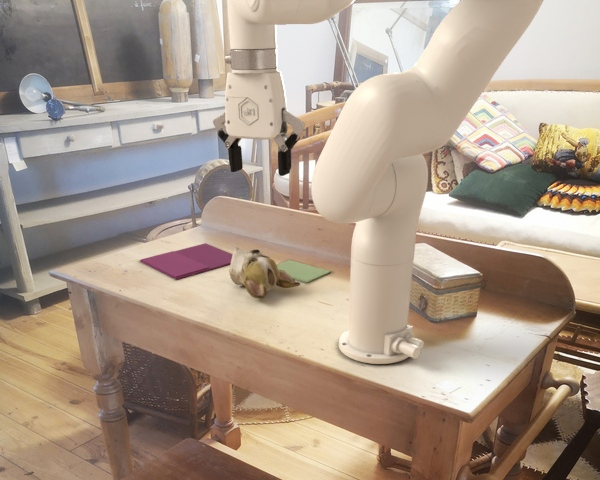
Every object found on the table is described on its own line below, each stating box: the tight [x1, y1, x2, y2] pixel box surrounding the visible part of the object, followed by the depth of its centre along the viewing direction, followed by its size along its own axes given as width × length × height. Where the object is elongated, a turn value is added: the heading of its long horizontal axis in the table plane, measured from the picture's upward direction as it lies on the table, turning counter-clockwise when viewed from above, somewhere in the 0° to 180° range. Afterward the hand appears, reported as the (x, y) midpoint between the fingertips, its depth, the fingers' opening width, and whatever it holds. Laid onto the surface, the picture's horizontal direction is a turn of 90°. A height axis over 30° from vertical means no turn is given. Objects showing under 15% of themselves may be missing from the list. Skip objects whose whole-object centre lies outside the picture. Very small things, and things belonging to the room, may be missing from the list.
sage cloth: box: [276, 259, 331, 284], centre depth 129 cm, size 12×8×1 cm, turn 49°
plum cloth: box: [139, 243, 233, 280], centre depth 136 cm, size 16×18×1 cm
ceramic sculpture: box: [228, 246, 301, 299], centre depth 118 cm, size 11×9×15 cm
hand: (260, 172), depth 106 cm, fingers open, 9 cm apart
